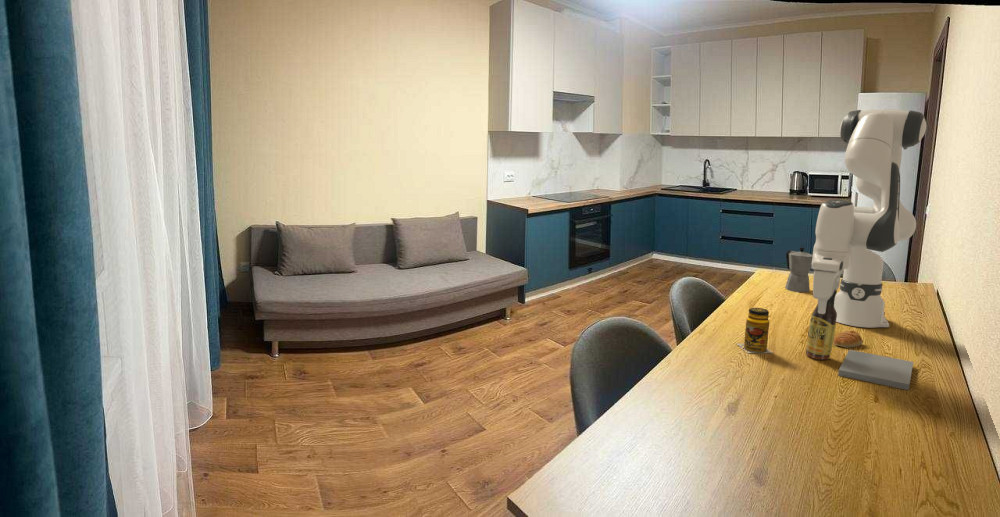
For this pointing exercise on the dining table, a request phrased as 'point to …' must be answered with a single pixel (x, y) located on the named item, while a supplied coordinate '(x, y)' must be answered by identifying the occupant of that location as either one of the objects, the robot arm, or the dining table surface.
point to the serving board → (877, 369)
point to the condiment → (756, 331)
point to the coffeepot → (798, 270)
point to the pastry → (848, 339)
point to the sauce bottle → (822, 331)
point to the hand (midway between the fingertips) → (824, 309)
